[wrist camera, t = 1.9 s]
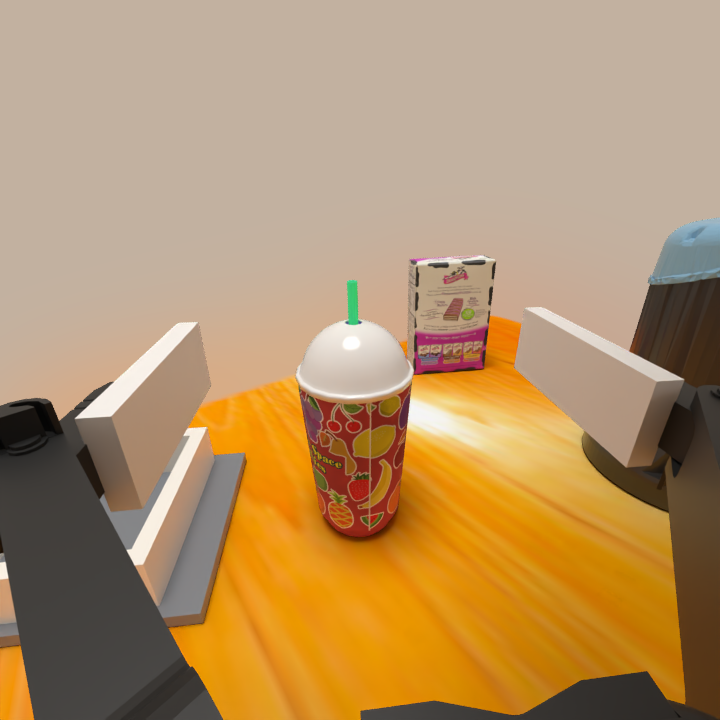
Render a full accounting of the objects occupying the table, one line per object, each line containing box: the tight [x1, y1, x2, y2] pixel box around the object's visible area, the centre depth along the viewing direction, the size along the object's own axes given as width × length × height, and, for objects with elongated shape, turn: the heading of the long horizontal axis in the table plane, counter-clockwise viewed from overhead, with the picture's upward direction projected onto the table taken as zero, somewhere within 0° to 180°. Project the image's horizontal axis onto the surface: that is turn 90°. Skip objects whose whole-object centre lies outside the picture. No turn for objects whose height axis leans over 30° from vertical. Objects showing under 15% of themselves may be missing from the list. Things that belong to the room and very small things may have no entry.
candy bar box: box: [407, 255, 496, 374], centre depth 55 cm, size 11×5×16 cm, turn 97°
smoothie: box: [296, 280, 414, 537], centre depth 28 cm, size 8×8×20 cm
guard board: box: [0, 427, 246, 647], centre depth 29 cm, size 20×16×5 cm
